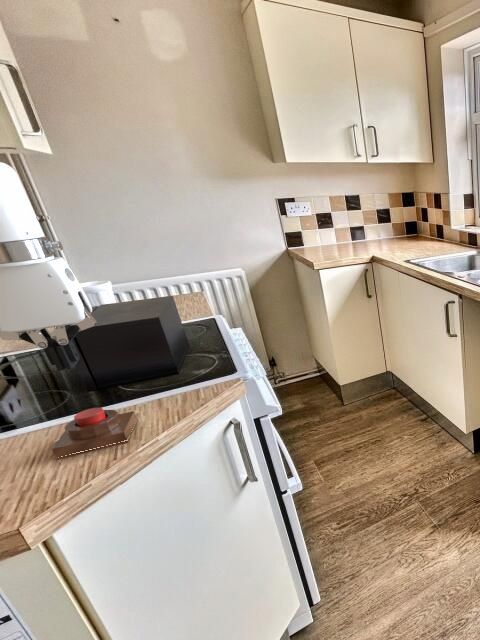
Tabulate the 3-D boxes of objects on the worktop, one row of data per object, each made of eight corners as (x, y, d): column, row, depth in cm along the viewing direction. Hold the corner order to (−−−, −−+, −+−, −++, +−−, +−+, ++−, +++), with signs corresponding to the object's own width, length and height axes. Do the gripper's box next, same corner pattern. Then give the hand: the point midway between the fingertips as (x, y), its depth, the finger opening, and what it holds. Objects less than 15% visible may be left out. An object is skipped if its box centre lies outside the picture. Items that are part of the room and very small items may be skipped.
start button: (75, 430, 70) (70, 421, 69) (82, 419, 73) (77, 411, 72) (103, 423, 71) (99, 414, 71) (109, 413, 74) (105, 405, 74)
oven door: (63, 397, 88) (32, 336, 82) (92, 362, 104) (68, 309, 98) (97, 390, 90) (69, 330, 85) (120, 357, 106) (98, 305, 101)
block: (57, 460, 68) (46, 439, 67) (74, 435, 75) (64, 416, 73) (128, 442, 72) (119, 423, 71) (138, 420, 79) (130, 402, 77)
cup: (134, 324, 130) (117, 279, 124) (118, 334, 122) (98, 286, 117) (104, 327, 128) (85, 281, 123) (85, 336, 121) (64, 288, 115)
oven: (99, 390, 90) (72, 329, 85) (122, 357, 106) (100, 304, 101) (179, 374, 97) (158, 317, 91) (189, 346, 113) (172, 295, 107)
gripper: (89, 244, 67) (132, 348, 74) (-47, 255, 61) (14, 369, 68) (73, 250, 61) (122, 364, 68) (-80, 264, 55) (-9, 388, 62)
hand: (68, 366), depth 68 cm, fingers closed
